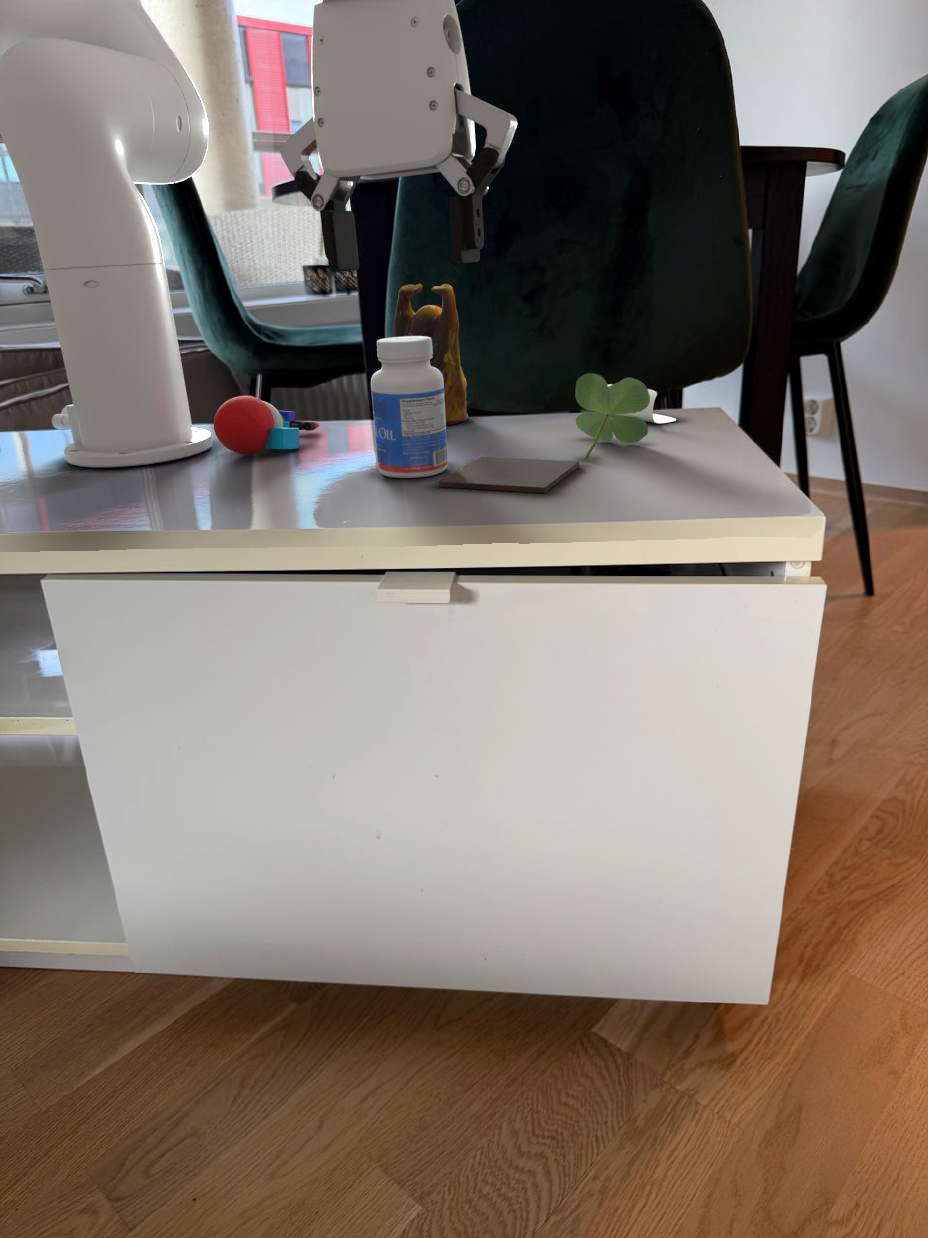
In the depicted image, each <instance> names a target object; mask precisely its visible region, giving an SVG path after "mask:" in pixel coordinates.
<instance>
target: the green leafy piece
mask: <svg viewBox="0 0 928 1238" xmlns="http://www.w3.org/2000/svg"><path fill="white" fill-rule="evenodd" d="M607 384H608V383H607V381H606V379H605V378H604V377H603V376H602V375H600V374H598V373H594V372H593V373H592V372H591V373H584V374H583V375H581V376H580V377H578V379H577V380H576V382H575V390H574V392H575V395H574V396H575V400H576V402H577V404H578V405H579V406H580V408H583V409H584V410H587V411H585V412H582V413H580V414H578V415H577V416H576V417H575V425H576V426H577V428H578V430H580V431H581V432H582V433H584V434H585V435H587V436H589V437H591V438H593V439H594V440H593V442H592V443H591V445H590V448H589V449H588V451H587V452H586V455H585V456H584V460H585V461H587V460H588V459H589V457H590V455H591V453H592V451H593V450H594V448H595V446H596V444H597V442H598V440H602V441H604V442H610V441H612V440H613V439H614V437H615V439H617V440H618V441H619V442H621V443H624V444H636V443H639V442H640V441H641V440H643V439H644V438H645V437H647V435H648V433H649V426H648V424H647V421H643V420H641V419H639V418H636V417H628V416H619V415H616V414H628V413H636V412H640V411H642V410H644V409H645V408H646V407H647V406H648V405H649V403H650V395H649V393H648V389H649V388H648V387H647V386H646V385H645V384H644V383H643V382H642V381H641V380H639V379H636V378H634V377H624V378H622V379H621V380H620V381H618V382H615V383H611V384H612V385H611V386H609V387H608V385H607Z"/></svg>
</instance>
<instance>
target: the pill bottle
mask: <svg viewBox="0 0 928 1238" xmlns="http://www.w3.org/2000/svg"><path fill="white" fill-rule="evenodd" d="M376 347H377V348H376V351H377V353H376V355H377V358H378V361H379V362H380V363H381V367H380V368H381V369H378V370H377V371H375V372H374V373H373V374H372V376H371V378H370V391H371V400H372V402H371V403H372V414H373V425H374V434H375V435H374V437H375V446H376V458H377V467H378V471H379V473H380V474H382V475H383V476H386V477H389V478H394V479H395V478H396V479H415V478H417V479H418V478H425V477H433V476H435V475H438V474H441V473H443V472H444V471H446V469H447V468H448V464H449V458H448V456H449V454H448V439H447V425H446V417H445V399H444V380H443V375H442V373H441V372H440V371H439V370H438V369H437V368H435V367H432V366H431V365H430V359H431V358H432V357H433V356H432V354H433V350H432V339H431V338H430V337H425V336H405V337H396V336H392V337H385V338H380V339H378V340H377V341H376Z"/></svg>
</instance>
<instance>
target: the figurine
mask: <svg viewBox="0 0 928 1238" xmlns="http://www.w3.org/2000/svg"><path fill="white" fill-rule="evenodd" d="M421 291H423V285H422V284H421V283H418V284H406V285H404V286H401V287H400V289H399V290H398V296H397V302H396V308H395V314H394V315H395V316H394V318H393V319H394V320H393V326H394V327H393V329H394V330H393V331H394V335H395V336H394V337H405V336H425V337H430V338H431V339H432V350H433V354H432V356H433V357H432V358H431V359H430V365H431V366H432V367H435V368H437V369H438V370H439V371H440V372H441V373H442V375H443V380H444V399H445V417H446V426H450V425H456V424H461V423H464V422H466V421H467V420H468V419H469V414H468V412H467V408H468V405H467V403H468V401H467V388H468V383H467V379H466V377H465V374H464V371H463V368H462V366H461V355H460V340H459V330H460V323H459V315H458V310H457V303H456V296H455V292H454V289H453V286H452V285H450V284H449V283H443V284H442V285H440V286H438V285H437V286H436V285H435V286H433V287H432V288H431V292H432V293H435V294H437V295H439V296H441V298H442V299H441V300H442V305H441V306H438V305H434V304H432V305H431V304H427V305H424V306H422V307H420V308H419V309H418V310H417V311H415V312H414V310H413V309H412V304H411V298H412V297H413V296H415V295H417V294H419V293H420V292H421Z"/></svg>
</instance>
